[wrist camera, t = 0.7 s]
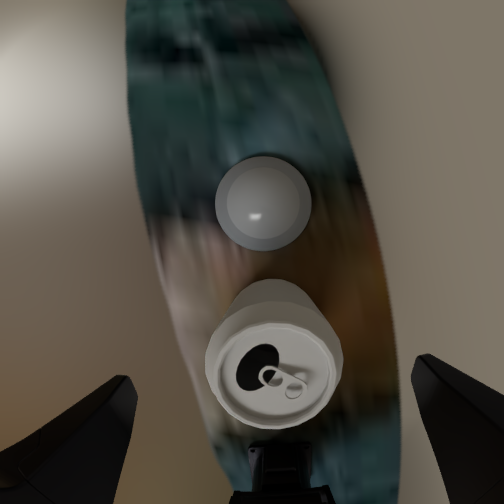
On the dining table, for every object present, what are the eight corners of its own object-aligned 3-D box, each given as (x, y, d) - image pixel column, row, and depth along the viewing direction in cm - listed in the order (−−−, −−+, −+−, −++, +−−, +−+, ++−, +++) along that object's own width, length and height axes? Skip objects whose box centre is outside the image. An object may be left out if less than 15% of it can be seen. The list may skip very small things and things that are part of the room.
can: (255, 261, 25) (244, 277, 13) (330, 303, 25) (379, 350, 13) (214, 334, 25) (174, 400, 13) (287, 372, 25) (297, 457, 13)
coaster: (314, 247, 25) (315, 247, 24) (220, 254, 25) (218, 254, 24) (305, 155, 24) (306, 153, 24) (213, 163, 25) (212, 161, 24)
